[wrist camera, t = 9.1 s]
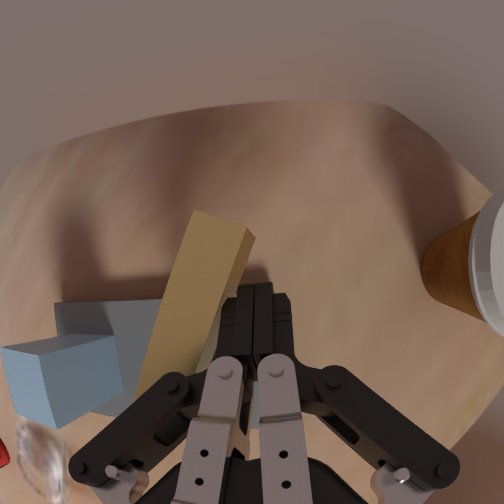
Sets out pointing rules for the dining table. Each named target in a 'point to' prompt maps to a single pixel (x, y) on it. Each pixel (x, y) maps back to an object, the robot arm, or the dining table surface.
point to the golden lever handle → (196, 298)
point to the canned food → (3, 455)
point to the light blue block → (62, 376)
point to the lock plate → (122, 341)
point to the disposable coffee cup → (471, 265)
